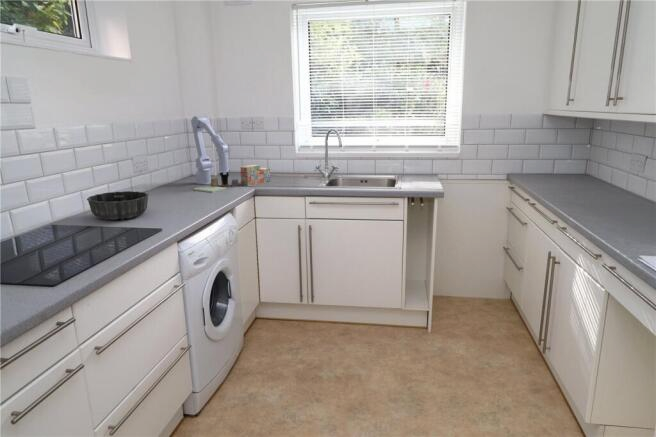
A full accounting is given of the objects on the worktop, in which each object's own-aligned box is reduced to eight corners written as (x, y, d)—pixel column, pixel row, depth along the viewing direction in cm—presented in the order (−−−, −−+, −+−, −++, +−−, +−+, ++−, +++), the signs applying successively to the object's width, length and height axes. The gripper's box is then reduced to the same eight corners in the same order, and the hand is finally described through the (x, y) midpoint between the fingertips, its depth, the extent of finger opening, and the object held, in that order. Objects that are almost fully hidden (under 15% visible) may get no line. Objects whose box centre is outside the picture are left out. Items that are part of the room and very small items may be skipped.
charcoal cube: (232, 186, 284) (231, 180, 283) (231, 185, 287) (231, 179, 286) (238, 186, 285) (238, 180, 284) (237, 185, 288) (237, 179, 287)
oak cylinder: (209, 186, 282) (209, 179, 280) (214, 185, 285) (214, 178, 284) (214, 187, 280) (214, 179, 278) (219, 186, 283) (219, 178, 282)
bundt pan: (134, 207, 226) (131, 188, 224) (161, 215, 210) (159, 195, 208) (80, 217, 207) (77, 196, 204) (105, 226, 190) (102, 204, 188)
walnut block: (221, 185, 285) (221, 176, 284) (227, 185, 287) (227, 176, 285) (221, 186, 282) (221, 177, 280) (228, 186, 283) (227, 177, 281)
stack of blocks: (263, 180, 306) (263, 163, 303) (270, 181, 303) (269, 163, 300) (241, 184, 290) (240, 166, 286) (247, 185, 286) (246, 167, 283)
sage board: (193, 190, 271) (193, 188, 271) (207, 186, 281) (206, 185, 281) (212, 192, 263) (212, 190, 263) (226, 189, 274) (225, 187, 273)
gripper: (230, 164, 275) (231, 185, 278) (229, 161, 288) (230, 181, 292) (219, 164, 273) (220, 186, 276) (218, 161, 286) (219, 182, 290)
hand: (224, 184), depth 284 cm, fingers closed on walnut block, 4 cm apart
